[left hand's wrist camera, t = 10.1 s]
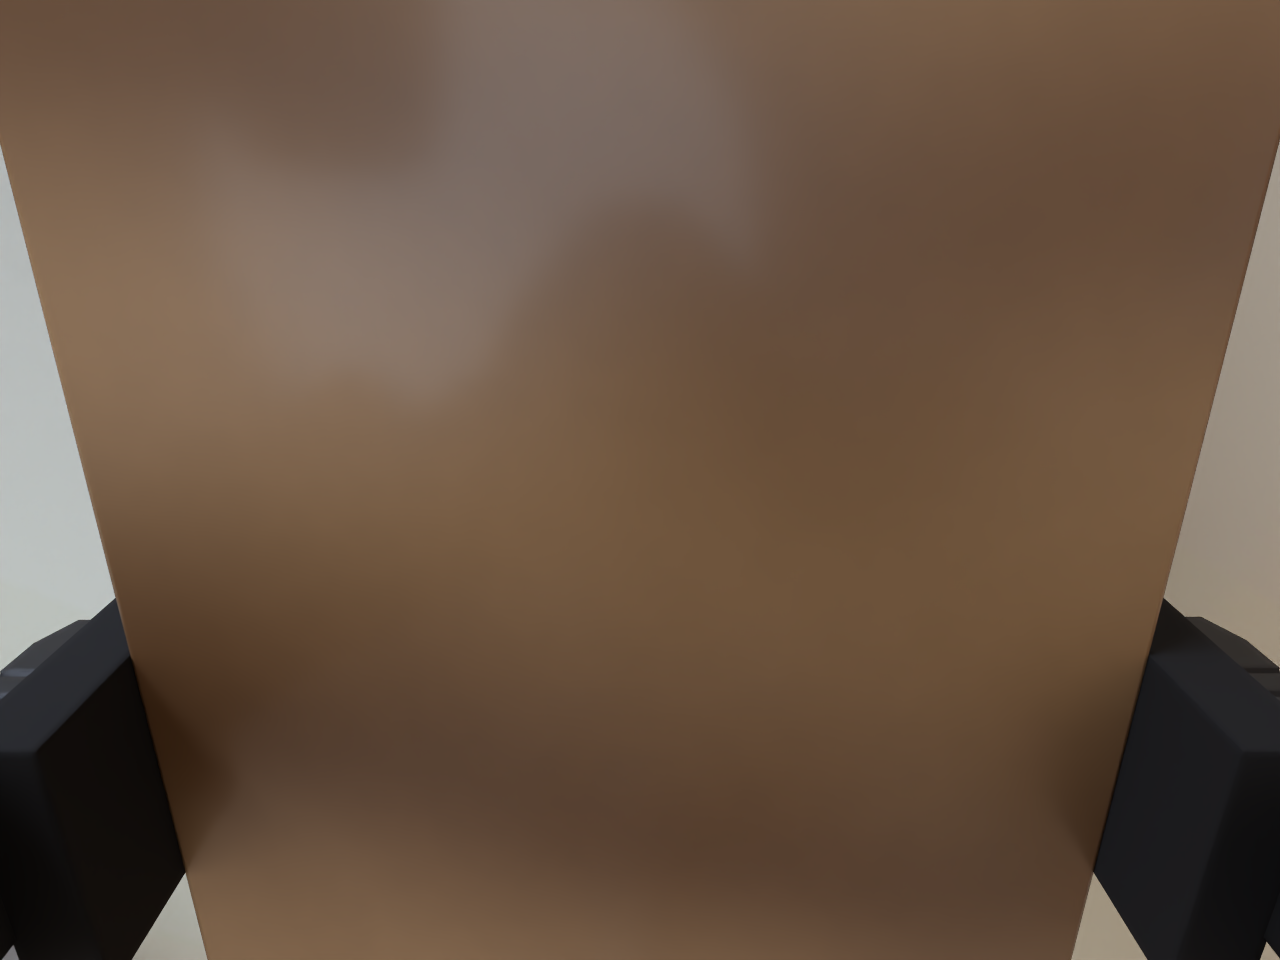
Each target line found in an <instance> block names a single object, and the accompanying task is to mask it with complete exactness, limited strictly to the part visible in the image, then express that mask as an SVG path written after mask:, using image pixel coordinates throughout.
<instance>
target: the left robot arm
mask: <svg viewBox="0 0 1280 960" xmlns="http://www.w3.org/2000/svg"><path fill="white" fill-rule="evenodd" d="M0 672H1V674H0V960H2V959H3V958H4V956H5V955H6V954H7V953H8V951H9V950H10V949H11V947H12V946H13V945H14V948H15V950H16V953H17V956H18V958H19V960H132V958H133V957H134V955H135V953H136V952H137V950H138V948H139V947H140V945H141V944H142V942H143V940H144V939H145V937H146V935H147V934H148V932H149V931H150V929H151V927H152V926H153V924H154V922H155V921H156V919H157V918H158V916H159V914H160V913H161V911H162V909H163V908H164V906H165V905H166V903H167V901H168V900H169V898H170V897H171V895H172V893H173V892H174V890H175V888H176V887H177V885H178V884H179V882H180V880H181V879H182V877H183V875H184V874H185V868H184V864H183V860H182V856H181V852H180V849H179V845H178V841H177V837H176V833H175V829H174V825H173V821H172V817H171V813H170V809H169V805H168V801H167V797H166V793H165V790H164V786H163V782H162V778H161V774H160V770H159V766H158V762H157V758H156V754H155V750H154V746H153V742H152V738H151V734H150V731H149V727H148V723H147V719H146V715H145V711H144V707H143V703H142V699H141V695H140V691H139V687H138V683H137V679H136V675H135V672H134V668H133V664H132V660H131V656H130V652H129V648H128V644H127V640H126V636H125V632H124V628H123V624H122V620H121V616H120V613H119V609H118V605H117V601H116V598H115V599H114V600H113V601H112V602H110V603H109V604H108V605H107V606H106V607H105V608H104V609H103V610H101V611H100V612H99V613H98V614H97V615H96V616H95V617H93V618H92V619H91V620H78V621H76V622H74V623H72V624H70V625H68V626H66V627H64V628H62V629H60V630H59V631H57V632H55V633H53V634H51V635H49V636H47V637H45V638H43V639H41V640H39V641H37V642H35V643H34V644H32V645H31V646H30V647H29V648H28V649H26V650H25V651H24V652H23V653H22V654H20V655H19V656H18V657H17V658H16V659H14V660H13V661H12V662H11V663H10V664H8V665H7V666H6V667H5V668H4V669H2V670H1V671H0ZM1094 874H1095V875H1096V877H1097V878H1098V880H1099V882H1100V883H1101V885H1102V887H1103V888H1104V890H1105V891H1106V893H1107V895H1108V896H1109V898H1110V900H1111V901H1112V903H1113V904H1114V906H1115V908H1116V909H1117V911H1118V913H1119V914H1120V916H1121V917H1122V919H1123V921H1124V922H1125V924H1126V926H1127V927H1128V929H1129V930H1130V932H1131V934H1132V935H1133V937H1134V939H1135V940H1136V942H1137V943H1138V945H1139V947H1140V948H1141V950H1142V952H1143V953H1144V955H1145V956H1146V958H1147V960H1260V958H1261V955H1262V953H1263V950H1264V947H1265V944H1266V942H1268V944H1269V945H1270V946H1271V948H1272V949H1273V950H1274V951H1275V953H1276V954H1277V955H1278V957H1279V958H1280V671H1279V667H1278V666H1277V665H1275V664H1274V663H1273V662H1272V661H1271V660H1269V659H1268V658H1267V657H1266V656H1265V655H1263V654H1262V653H1261V652H1260V651H1259V650H1257V649H1256V648H1255V647H1254V646H1253V645H1251V644H1250V643H1249V642H1248V641H1247V640H1245V639H1243V638H1241V637H1239V636H1237V635H1235V634H1233V633H1231V632H1229V631H1227V630H1225V629H1224V628H1222V627H1220V626H1218V625H1216V624H1214V623H1212V622H1210V621H1208V620H1206V619H1204V618H1202V617H1184V616H1183V615H1182V614H1181V613H1180V612H1179V611H1178V610H1176V609H1175V608H1174V607H1173V606H1172V605H1171V604H1170V603H1169V602H1167V601H1166V600H1165V599H1164V598H1163V600H1162V604H1161V608H1160V612H1159V616H1158V620H1157V624H1156V628H1155V632H1154V636H1153V640H1152V644H1151V648H1150V651H1149V655H1148V659H1147V663H1146V667H1145V671H1144V675H1143V679H1142V683H1141V687H1140V691H1139V695H1138V699H1137V703H1136V706H1135V710H1134V714H1133V718H1132V722H1131V726H1130V730H1129V734H1128V738H1127V742H1126V746H1125V750H1124V754H1123V758H1122V762H1121V765H1120V769H1119V773H1118V777H1117V781H1116V785H1115V789H1114V793H1113V797H1112V801H1111V805H1110V809H1109V813H1108V817H1107V820H1106V824H1105V828H1104V832H1103V836H1102V840H1101V844H1100V848H1099V852H1098V856H1097V860H1096V864H1095V868H1094Z"/></svg>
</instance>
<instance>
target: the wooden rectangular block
mask: <svg viewBox="0 0 1280 960" xmlns="http://www.w3.org/2000/svg"><path fill="white" fill-rule="evenodd" d="M1279 141H1280V0H0V144H1V148H2V152H3V156H4V160H5V164H6V168H7V172H8V176H9V180H10V184H11V188H12V192H13V196H14V200H15V203H16V207H17V211H18V215H19V219H20V223H21V227H22V231H23V235H24V239H25V243H26V247H27V251H28V255H29V259H30V262H31V266H32V270H33V274H34V278H35V282H36V286H37V290H38V294H39V298H40V302H41V306H42V310H43V314H44V318H45V321H46V325H47V329H48V333H49V337H50V341H51V345H52V349H53V353H54V357H55V361H56V365H57V369H58V373H59V377H60V380H61V384H62V388H63V392H64V396H65V400H66V404H67V408H68V412H69V416H70V420H71V424H72V428H73V432H74V436H75V439H76V443H77V447H78V451H79V455H80V459H81V463H82V467H83V471H84V475H85V479H86V483H87V487H88V491H89V495H90V498H91V502H92V506H93V510H94V514H95V518H96V522H97V526H98V530H99V534H100V538H101V542H102V546H103V550H104V554H105V557H106V561H107V565H108V569H109V573H110V577H111V581H112V585H113V589H114V593H115V597H116V601H117V605H118V609H119V613H120V616H121V620H122V624H123V628H124V632H125V636H126V640H127V644H128V648H129V652H130V656H131V660H132V664H133V668H134V672H135V675H136V679H137V683H138V687H139V691H140V695H141V699H142V703H143V707H144V711H145V715H146V719H147V723H148V727H149V731H150V734H151V738H152V742H153V746H154V750H155V754H156V758H157V762H158V766H159V770H160V774H161V778H162V782H163V786H164V790H165V793H166V797H167V801H168V805H169V809H170V813H171V817H172V821H173V825H174V829H175V833H176V837H177V841H178V845H179V849H180V852H181V856H182V860H183V864H184V868H185V872H186V876H187V880H188V884H189V888H190V892H191V896H192V900H193V904H194V908H195V911H196V915H197V919H198V923H199V927H200V931H201V935H202V939H203V943H204V947H205V951H206V955H207V959H208V960H1071V958H1072V954H1073V950H1074V946H1075V942H1076V938H1077V934H1078V931H1079V927H1080V923H1081V919H1082V915H1083V911H1084V907H1085V903H1086V899H1087V895H1088V891H1089V887H1090V883H1091V879H1092V875H1093V872H1094V868H1095V864H1096V860H1097V856H1098V852H1099V848H1100V844H1101V840H1102V836H1103V832H1104V828H1105V824H1106V820H1107V817H1108V813H1109V809H1110V805H1111V801H1112V797H1113V793H1114V789H1115V785H1116V781H1117V777H1118V773H1119V769H1120V765H1121V762H1122V758H1123V754H1124V750H1125V746H1126V742H1127V738H1128V734H1129V730H1130V726H1131V722H1132V718H1133V714H1134V710H1135V706H1136V703H1137V699H1138V695H1139V691H1140V687H1141V683H1142V679H1143V675H1144V671H1145V667H1146V663H1147V659H1148V655H1149V651H1150V648H1151V644H1152V640H1153V636H1154V632H1155V628H1156V624H1157V620H1158V616H1159V612H1160V608H1161V604H1162V600H1163V596H1164V593H1165V589H1166V585H1167V581H1168V577H1169V573H1170V569H1171V565H1172V561H1173V557H1174V553H1175V549H1176V545H1177V541H1178V538H1179V534H1180V530H1181V526H1182V522H1183V518H1184V514H1185V510H1186V506H1187V502H1188V498H1189V494H1190V490H1191V486H1192V482H1193V479H1194V475H1195V471H1196V467H1197V463H1198V459H1199V455H1200V451H1201V447H1202V443H1203V439H1204V435H1205V431H1206V427H1207V424H1208V420H1209V416H1210V412H1211V408H1212V404H1213V400H1214V396H1215V392H1216V388H1217V384H1218V380H1219V376H1220V372H1221V369H1222V365H1223V361H1224V357H1225V353H1226V349H1227V345H1228V341H1229V337H1230V333H1231V329H1232V325H1233V321H1234V317H1235V314H1236V310H1237V306H1238V302H1239V298H1240V294H1241V290H1242V286H1243V282H1244V278H1245V274H1246V270H1247V266H1248V262H1249V258H1250V255H1251V251H1252V247H1253V243H1254V239H1255V235H1256V231H1257V227H1258V223H1259V219H1260V215H1261V211H1262V207H1263V203H1264V200H1265V196H1266V192H1267V188H1268V184H1269V180H1270V176H1271V172H1272V168H1273V164H1274V160H1275V156H1276V152H1277V148H1278V145H1279Z"/></svg>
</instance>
